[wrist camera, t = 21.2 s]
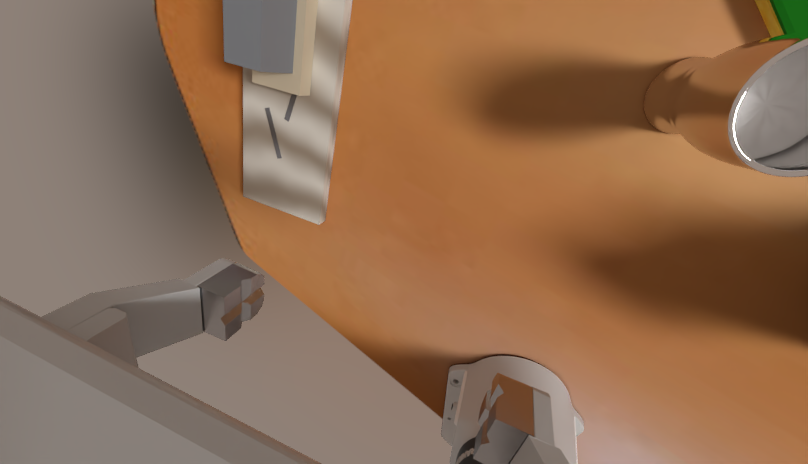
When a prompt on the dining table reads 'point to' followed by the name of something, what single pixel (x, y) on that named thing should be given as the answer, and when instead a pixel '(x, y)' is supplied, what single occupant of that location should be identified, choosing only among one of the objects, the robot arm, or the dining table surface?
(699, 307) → the dining table surface
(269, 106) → the marked board
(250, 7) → the block
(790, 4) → the dish sponge
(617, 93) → the dining table surface
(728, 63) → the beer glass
